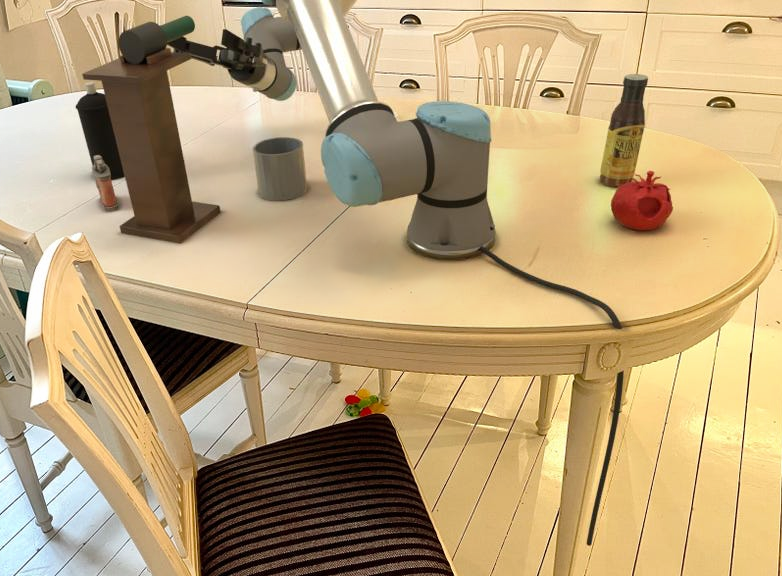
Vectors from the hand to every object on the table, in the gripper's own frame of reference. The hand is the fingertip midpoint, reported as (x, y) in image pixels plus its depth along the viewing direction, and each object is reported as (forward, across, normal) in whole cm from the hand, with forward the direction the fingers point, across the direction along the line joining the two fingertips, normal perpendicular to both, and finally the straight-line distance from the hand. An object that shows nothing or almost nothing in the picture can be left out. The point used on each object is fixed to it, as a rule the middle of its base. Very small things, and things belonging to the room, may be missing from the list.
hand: (193, 35), depth 139 cm
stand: (0, 0, -35) cm, 35 cm away
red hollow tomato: (-23, -83, -22) cm, 89 cm away
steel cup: (-18, -14, -25) cm, 34 cm away
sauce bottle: (-37, -76, -14) cm, 86 cm away
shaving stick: (+8, 0, -5) cm, 9 cm away
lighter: (-3, +18, -33) cm, 38 cm away
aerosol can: (-16, +29, -26) cm, 42 cm away
